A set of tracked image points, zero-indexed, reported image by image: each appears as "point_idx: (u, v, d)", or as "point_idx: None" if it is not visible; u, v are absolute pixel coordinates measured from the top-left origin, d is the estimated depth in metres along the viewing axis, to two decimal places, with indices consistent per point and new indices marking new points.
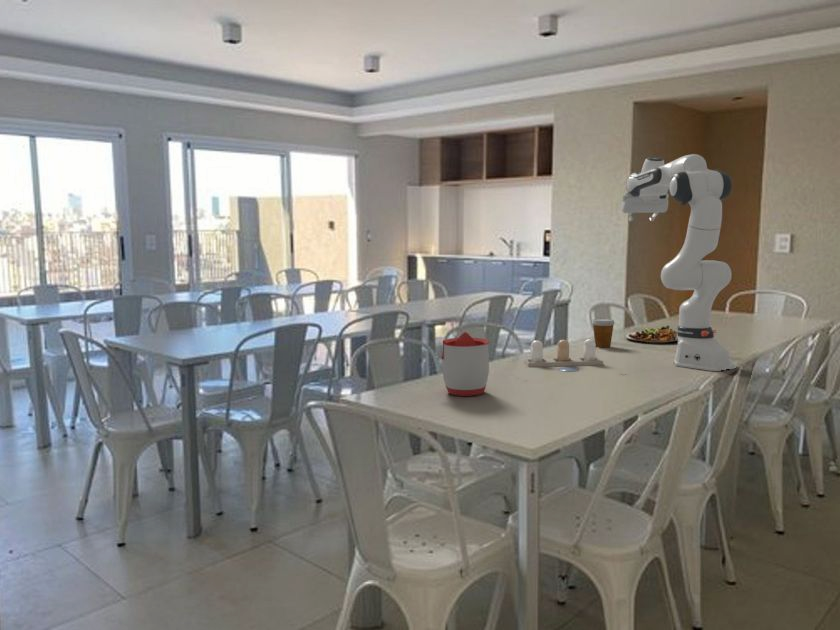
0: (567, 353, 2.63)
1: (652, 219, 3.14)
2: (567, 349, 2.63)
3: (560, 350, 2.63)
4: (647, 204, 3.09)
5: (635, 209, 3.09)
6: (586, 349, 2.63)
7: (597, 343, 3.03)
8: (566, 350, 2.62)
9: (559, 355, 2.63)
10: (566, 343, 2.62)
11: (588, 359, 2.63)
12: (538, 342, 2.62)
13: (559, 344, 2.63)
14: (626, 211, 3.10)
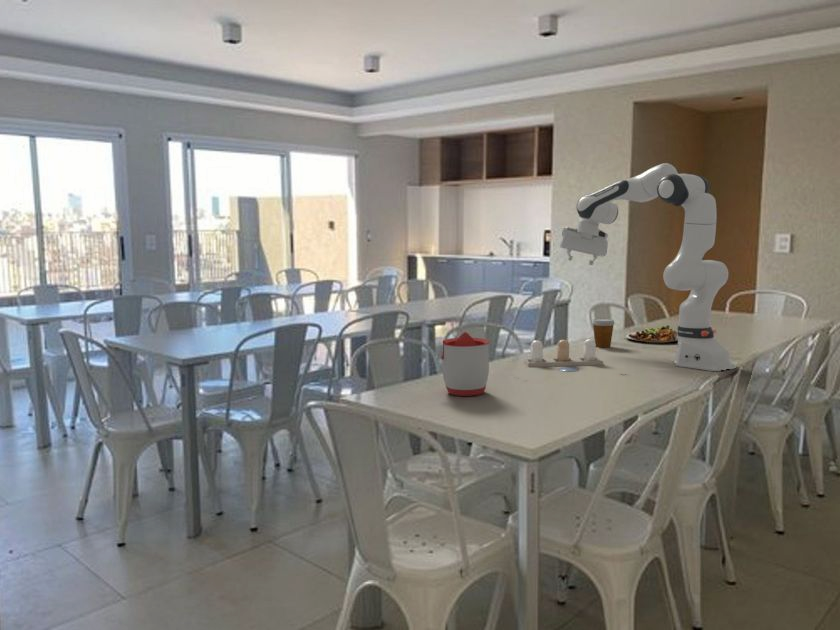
0: (567, 353, 2.63)
1: (591, 262, 3.02)
2: (567, 349, 2.63)
3: (560, 350, 2.63)
4: (586, 242, 3.02)
5: (574, 244, 3.01)
6: (586, 349, 2.63)
7: (597, 343, 3.03)
8: (566, 350, 2.62)
9: (559, 355, 2.63)
10: (566, 343, 2.62)
11: (588, 359, 2.63)
12: (538, 342, 2.62)
13: (559, 344, 2.63)
14: (565, 245, 3.01)
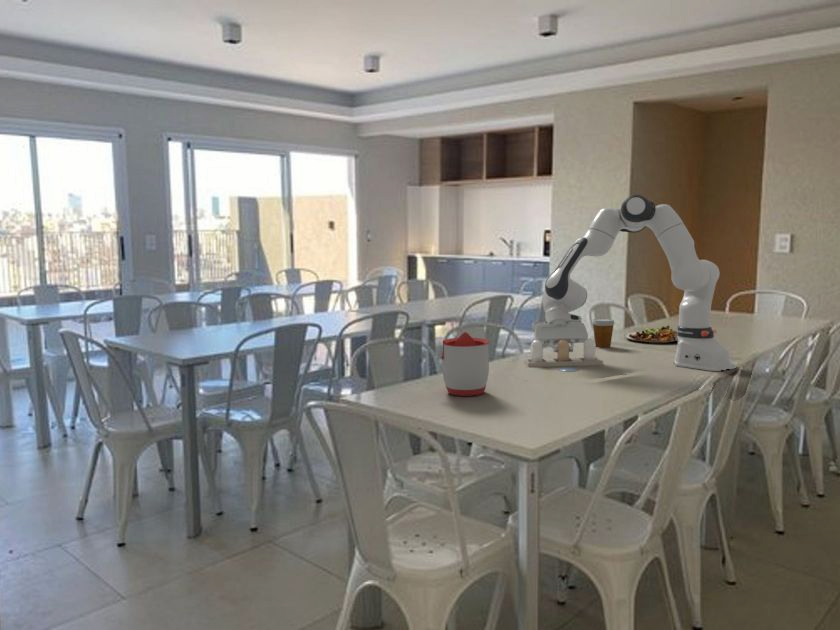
0: (567, 353, 2.63)
1: (571, 347, 2.64)
2: (567, 349, 2.63)
3: (560, 350, 2.63)
4: (561, 330, 2.68)
5: (549, 334, 2.66)
6: (586, 349, 2.63)
7: (597, 343, 3.03)
8: (566, 350, 2.62)
9: (559, 355, 2.63)
10: (566, 343, 2.62)
11: (588, 359, 2.63)
12: (538, 342, 2.62)
13: (559, 344, 2.63)
14: (540, 336, 2.66)
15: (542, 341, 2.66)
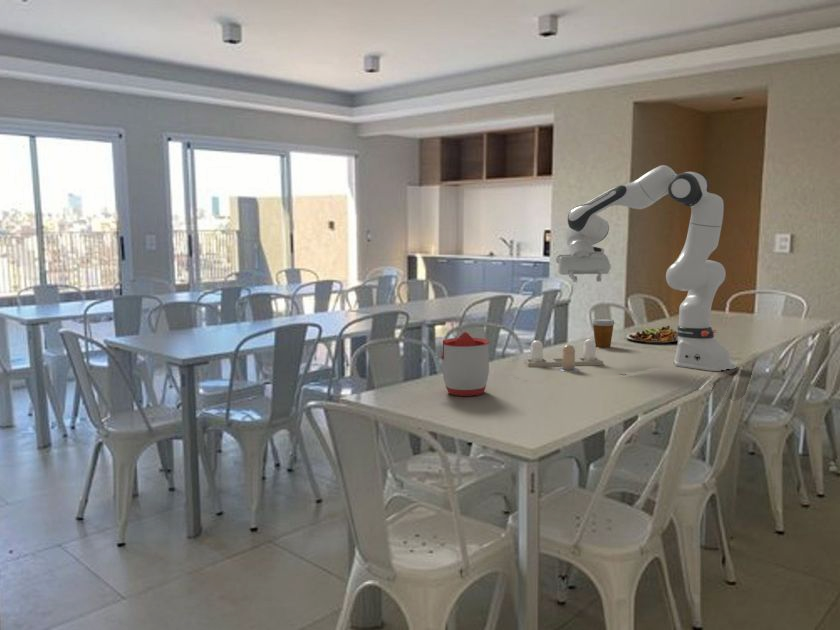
0: (573, 359, 2.52)
1: (599, 277, 2.74)
2: (573, 354, 2.52)
3: (565, 355, 2.52)
4: (585, 261, 2.78)
5: (573, 265, 2.76)
6: (586, 349, 2.63)
7: (597, 343, 3.03)
8: (572, 355, 2.52)
9: (564, 361, 2.52)
10: (572, 348, 2.52)
11: (588, 359, 2.63)
12: (538, 342, 2.62)
13: (564, 349, 2.52)
14: (564, 267, 2.75)
15: (566, 271, 2.76)
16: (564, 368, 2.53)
